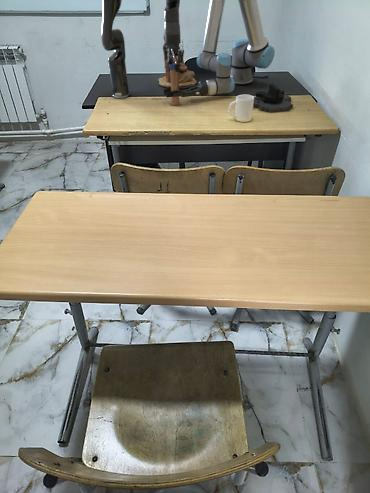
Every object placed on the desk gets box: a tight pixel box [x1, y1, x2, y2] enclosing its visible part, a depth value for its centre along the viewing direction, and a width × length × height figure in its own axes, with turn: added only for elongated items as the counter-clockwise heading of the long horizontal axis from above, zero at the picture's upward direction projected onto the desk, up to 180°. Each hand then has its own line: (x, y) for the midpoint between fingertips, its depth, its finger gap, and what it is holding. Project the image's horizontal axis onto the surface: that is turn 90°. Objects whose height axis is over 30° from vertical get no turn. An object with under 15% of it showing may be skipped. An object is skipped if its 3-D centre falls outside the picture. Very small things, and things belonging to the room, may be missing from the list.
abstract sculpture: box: [253, 83, 294, 113], centre depth 185 cm, size 25×9×20 cm
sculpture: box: [157, 32, 198, 89], centre depth 214 cm, size 27×24×30 cm
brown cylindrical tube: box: [170, 69, 180, 106], centre depth 188 cm, size 4×4×19 cm
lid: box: [169, 63, 175, 69], centre depth 181 cm, size 5×5×2 cm
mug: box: [227, 94, 255, 123], centre depth 170 cm, size 12×8×10 cm
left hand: (174, 70), depth 183 cm, fingers closed on lid, 4 cm apart
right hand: (165, 93), depth 188 cm, fingers closed on brown cylindrical tube, 4 cm apart
